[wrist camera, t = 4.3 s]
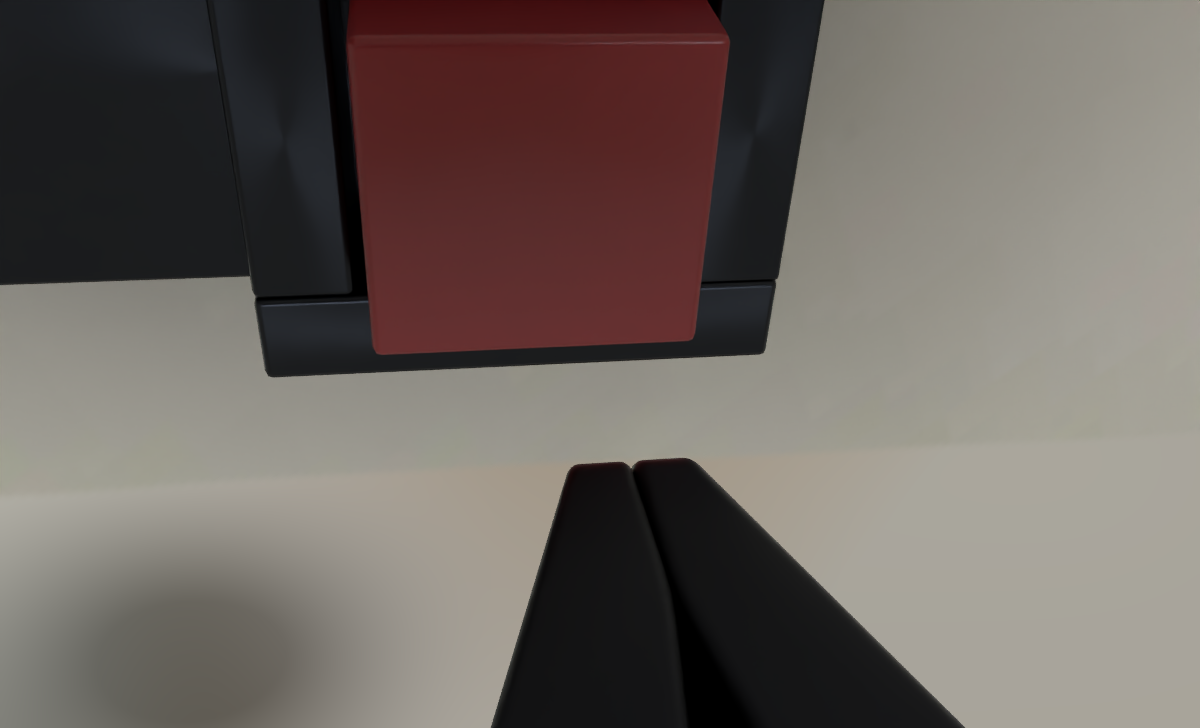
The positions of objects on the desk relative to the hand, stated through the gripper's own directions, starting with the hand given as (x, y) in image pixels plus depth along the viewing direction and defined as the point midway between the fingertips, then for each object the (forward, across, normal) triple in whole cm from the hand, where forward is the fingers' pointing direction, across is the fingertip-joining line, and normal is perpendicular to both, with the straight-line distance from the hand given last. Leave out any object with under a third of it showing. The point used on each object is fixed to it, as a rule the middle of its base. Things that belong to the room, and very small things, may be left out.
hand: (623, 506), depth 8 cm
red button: (+7, 0, 0) cm, 7 cm away
